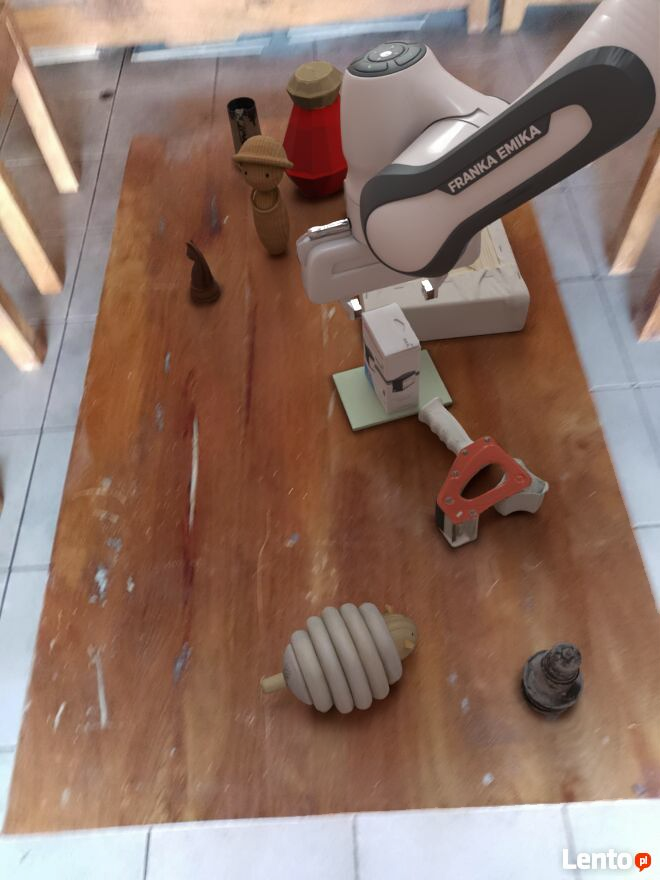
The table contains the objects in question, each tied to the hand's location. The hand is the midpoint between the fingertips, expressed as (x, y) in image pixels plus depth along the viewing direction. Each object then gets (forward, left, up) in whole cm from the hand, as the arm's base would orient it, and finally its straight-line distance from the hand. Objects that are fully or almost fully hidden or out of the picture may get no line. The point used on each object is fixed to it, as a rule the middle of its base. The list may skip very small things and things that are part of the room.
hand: (392, 306), depth 85 cm
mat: (0, 0, -16) cm, 16 cm away
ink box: (0, 0, -16) cm, 16 cm away
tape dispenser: (-5, +17, -16) cm, 24 cm away
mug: (+7, -59, -17) cm, 62 cm away
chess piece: (+21, -28, -17) cm, 39 cm away
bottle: (-4, -49, -16) cm, 52 cm away
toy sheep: (+17, +35, -17) cm, 42 cm away
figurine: (+8, -34, -17) cm, 39 cm away
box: (-13, -22, -16) cm, 30 cm away
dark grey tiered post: (-2, +43, -16) cm, 46 cm away
